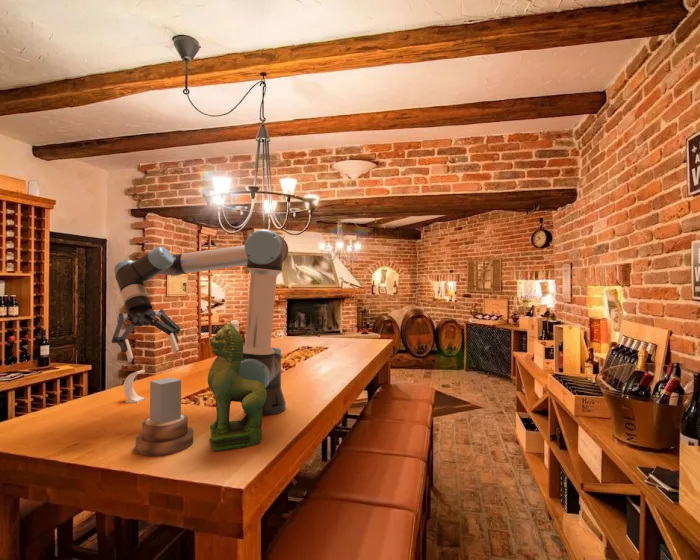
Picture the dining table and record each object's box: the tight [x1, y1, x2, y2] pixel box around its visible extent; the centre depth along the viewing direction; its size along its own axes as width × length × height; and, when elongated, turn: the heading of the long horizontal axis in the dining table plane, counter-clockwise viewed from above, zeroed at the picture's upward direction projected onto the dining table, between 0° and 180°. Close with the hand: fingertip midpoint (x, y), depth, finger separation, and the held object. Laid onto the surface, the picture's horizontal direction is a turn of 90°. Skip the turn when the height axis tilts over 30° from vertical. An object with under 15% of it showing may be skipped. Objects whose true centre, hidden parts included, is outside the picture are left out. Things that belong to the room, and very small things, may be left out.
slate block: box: [149, 377, 182, 424], centre depth 114 cm, size 6×6×11 cm
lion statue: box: [207, 322, 267, 452], centre depth 117 cm, size 14×17×35 cm
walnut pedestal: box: [135, 413, 194, 457], centre depth 114 cm, size 15×15×7 cm
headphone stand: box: [122, 369, 146, 404], centre depth 157 cm, size 5×6×12 cm
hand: (154, 355), depth 123 cm, fingers open, 13 cm apart
